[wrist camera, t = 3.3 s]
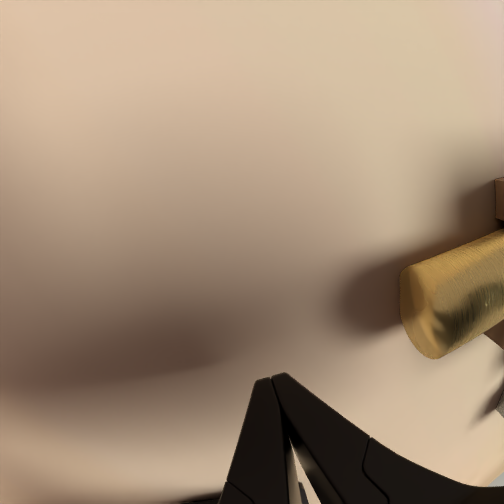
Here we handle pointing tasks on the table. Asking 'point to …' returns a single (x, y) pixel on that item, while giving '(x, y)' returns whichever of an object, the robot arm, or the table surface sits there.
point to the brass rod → (454, 295)
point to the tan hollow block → (500, 332)
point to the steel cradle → (501, 405)
